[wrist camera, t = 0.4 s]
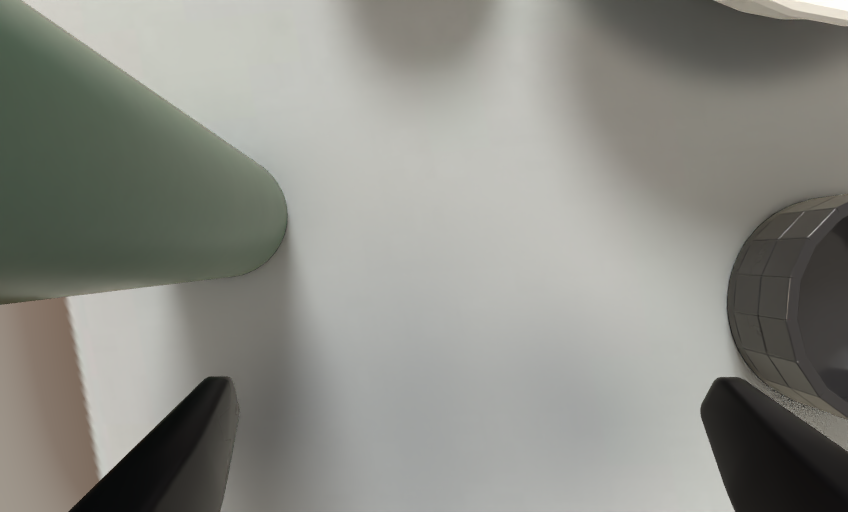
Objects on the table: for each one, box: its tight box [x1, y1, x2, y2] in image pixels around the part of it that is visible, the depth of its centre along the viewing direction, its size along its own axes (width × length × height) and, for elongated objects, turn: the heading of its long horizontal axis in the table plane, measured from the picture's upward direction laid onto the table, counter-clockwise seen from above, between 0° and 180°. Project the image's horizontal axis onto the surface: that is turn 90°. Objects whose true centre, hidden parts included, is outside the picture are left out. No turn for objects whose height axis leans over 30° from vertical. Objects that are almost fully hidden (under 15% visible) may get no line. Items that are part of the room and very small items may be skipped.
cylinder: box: [0, 0, 287, 305], centre depth 13 cm, size 5×5×17 cm
